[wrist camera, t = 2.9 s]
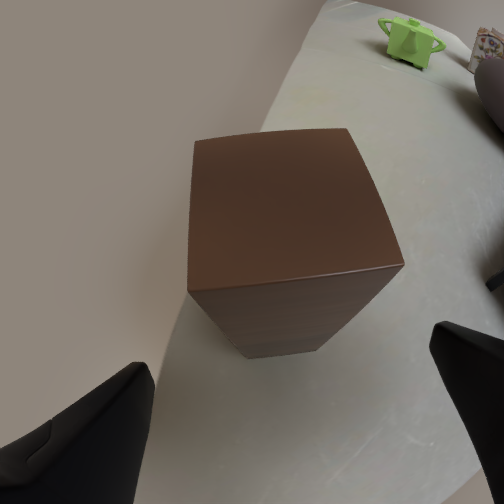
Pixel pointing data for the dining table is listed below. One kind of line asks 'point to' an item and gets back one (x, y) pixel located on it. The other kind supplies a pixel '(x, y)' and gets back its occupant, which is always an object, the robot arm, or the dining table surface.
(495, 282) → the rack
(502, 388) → the robot arm
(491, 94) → the smooth stone
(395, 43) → the teapot
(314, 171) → the walnut block
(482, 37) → the decorative jar
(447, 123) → the dining table surface
